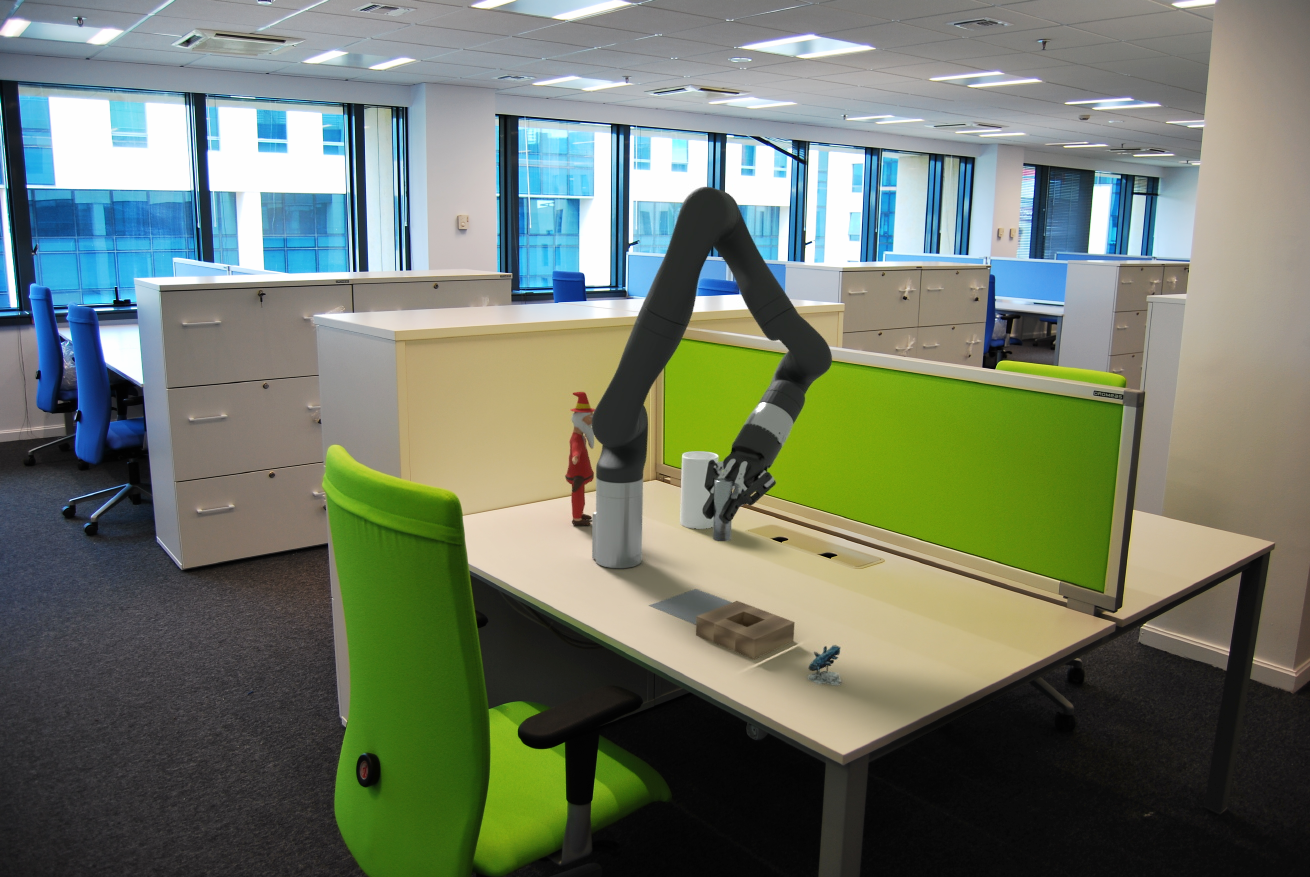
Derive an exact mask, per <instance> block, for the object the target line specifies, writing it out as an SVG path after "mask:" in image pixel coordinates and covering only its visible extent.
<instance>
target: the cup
mask: <svg viewBox="0 0 1310 877" xmlns="http://www.w3.org/2000/svg"><path fill="white" fill-rule="evenodd" d="M681 454H682V456H681V477H680V479H681V482H680V483H681V484H680V510H679V512H680V514H679V515H680V516H679V524H680V525H681V526H682V527H685V528H688V529H694V528H696V529H695V530H706V528H707V529H711V527H712V528H713V517H712V519H707V518H706V517H705V516H704V515H703V510H702V509H703V506H704V505H705V503H706V501H707V500H708V498H709V496H710V493H709V492H708V491H707V490H706V488H705V487H704V485H705V480H706V474H707V468H708V463H709V461H710V460H714V461H715V462H716V463H717V462H719V455H718V454H717V453H715V452H710V451H701V450H700V451H699V450H698V451H695V450H693V451H687V452H683V453H681Z"/></svg>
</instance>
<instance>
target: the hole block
mask: <svg viewBox="0 0 1310 877" xmlns="http://www.w3.org/2000/svg"><path fill="white" fill-rule="evenodd" d="M731 602H732V603H730V604H727V605H725V606H722V607H719V608H717V609H714V610H712V611H709V612H706V613H704V614H701V615H699V616H697V621H696V625H695V636H698V637H699V638H702V639H704V640H707V641H709V642H712V643H713V644H716V645H718V646H720V647H723V648H725V649H728V650H731V651H732V652H736V653H737V654H740V655H742V656H745V657H746V658H749V659H752V660H756V659H757V658H760V657H762V656H765V655H766V654H769V653H771V652H773V651H775V650H777V649H780V648H781V647H783V646H787V645H788V644H790V643H792V642H794V641H795V640H794V639H795V638H794V637H795V621H793V620H790V619H788V618H785V617H783V616H782V617H781V616H780V615H777V614H773V613H771V612H768V611H766V610H763V609H761V608H758V607H755V606H752V605H750V604H747V603H744V602H741V601H739V600H735V601H734V602H733V601H731Z"/></svg>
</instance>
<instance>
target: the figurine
mask: <svg viewBox="0 0 1310 877" xmlns="http://www.w3.org/2000/svg"><path fill="white" fill-rule="evenodd" d="M572 395H573V396H575V397H577V400H576V401H577V402H576V405H575V407H574V408H571V409H570V411H571V412H573V413H572V415H571V419H570V421H571V422H572V424H573V430H572V433H571V437H570V439H569V455H568V466H567V469H566V470H567V471H566V473H565V475H564V477H565V480H566V483H568V484H570V485H571V514H572V516H571V517H572V521H571V524H572V525H573V526H590V525H591V521H590V520H593V516H591V515H589V514H585V513H584V509H585V506H586V496H585V494H586V493H585V492H586V491H585V490H586V489H585V488H586V487H585V486H586V485H587V484H589V483H590V482H591V483H592V482H593V480H594V478H595V473H594V470H593V468H592V464H591V460H590V456H589V452H588V448H587V444H588V447H589V448H590V449H591V450H593V449H594V446H595V436H594V433H593V430H592V416H593V413H594V411H595V409H596V408H592V407H591V405H590V402H589V399H588V396H587V393H586V392H585V391H576V392H572ZM587 442H588V443H587Z"/></svg>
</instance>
